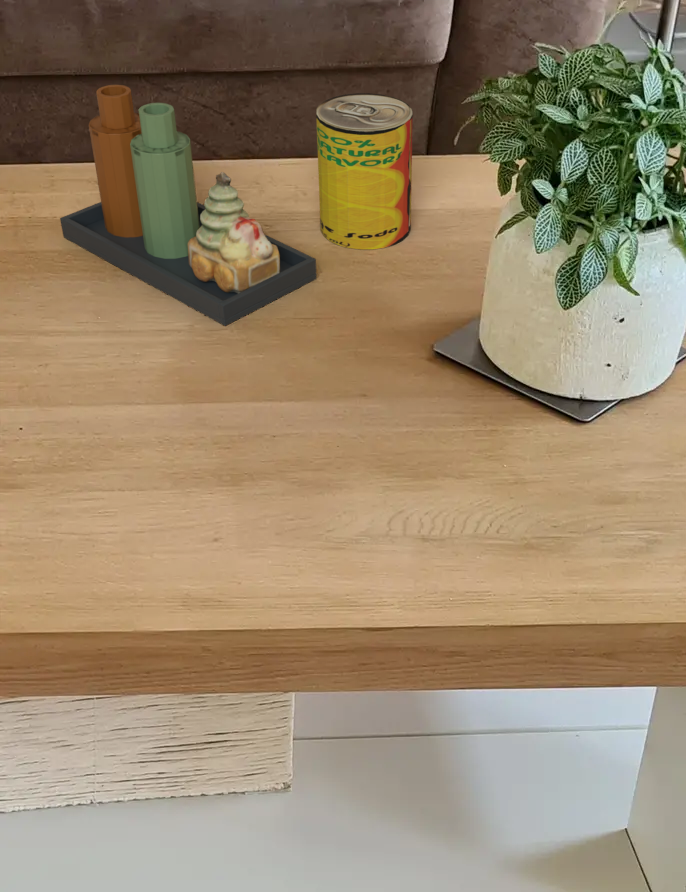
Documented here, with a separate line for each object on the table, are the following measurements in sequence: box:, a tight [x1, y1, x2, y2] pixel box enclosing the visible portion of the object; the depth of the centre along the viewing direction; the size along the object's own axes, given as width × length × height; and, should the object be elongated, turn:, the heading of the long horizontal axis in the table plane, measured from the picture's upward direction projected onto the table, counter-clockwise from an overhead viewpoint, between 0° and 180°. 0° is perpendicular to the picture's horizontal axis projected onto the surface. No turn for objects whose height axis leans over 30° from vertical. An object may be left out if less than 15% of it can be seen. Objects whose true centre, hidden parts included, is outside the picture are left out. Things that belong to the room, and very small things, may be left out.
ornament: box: [188, 171, 280, 294], centre depth 103 cm, size 8×6×10 cm
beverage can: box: [315, 92, 414, 250], centre depth 112 cm, size 9×9×12 cm
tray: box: [59, 201, 317, 327], centre depth 110 cm, size 23×11×2 cm, turn 50°
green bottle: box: [130, 102, 200, 259], centre depth 107 cm, size 5×5×14 cm
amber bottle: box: [88, 84, 143, 237], centre depth 110 cm, size 5×5×14 cm
